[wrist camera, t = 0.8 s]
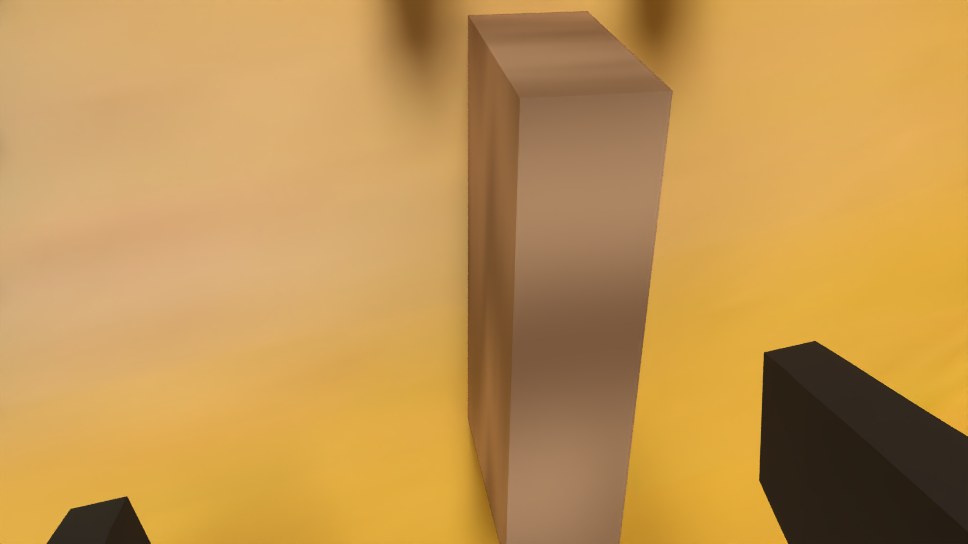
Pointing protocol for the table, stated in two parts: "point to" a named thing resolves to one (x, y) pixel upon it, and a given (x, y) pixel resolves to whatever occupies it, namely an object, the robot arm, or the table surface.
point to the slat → (558, 267)
